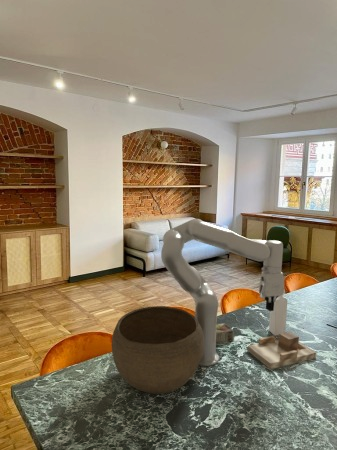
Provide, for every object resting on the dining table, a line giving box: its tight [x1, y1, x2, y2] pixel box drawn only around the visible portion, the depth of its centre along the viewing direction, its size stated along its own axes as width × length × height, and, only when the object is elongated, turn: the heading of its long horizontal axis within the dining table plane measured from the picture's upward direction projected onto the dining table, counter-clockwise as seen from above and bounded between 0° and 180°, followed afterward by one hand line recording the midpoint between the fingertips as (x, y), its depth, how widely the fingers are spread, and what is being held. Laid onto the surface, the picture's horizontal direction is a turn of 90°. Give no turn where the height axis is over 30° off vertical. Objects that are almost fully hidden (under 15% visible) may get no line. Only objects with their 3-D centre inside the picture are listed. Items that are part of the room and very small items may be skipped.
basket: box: [111, 305, 204, 395], centre depth 130 cm, size 35×35×25 cm
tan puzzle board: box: [247, 335, 317, 370], centre depth 152 cm, size 25×16×5 cm, turn 112°
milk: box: [268, 293, 288, 337], centre depth 172 cm, size 6×6×22 cm
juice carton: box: [216, 323, 235, 344], centre depth 166 cm, size 20×10×6 cm, turn 108°
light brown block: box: [278, 331, 300, 352], centre depth 153 cm, size 6×6×6 cm
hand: (269, 309), depth 146 cm, fingers closed
